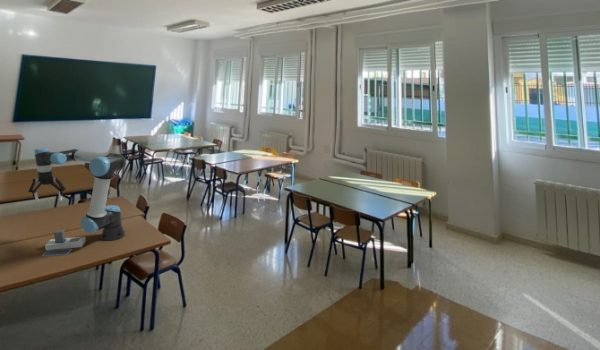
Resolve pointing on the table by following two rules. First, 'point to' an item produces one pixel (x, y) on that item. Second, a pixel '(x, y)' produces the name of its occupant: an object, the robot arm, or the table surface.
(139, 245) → the table surface
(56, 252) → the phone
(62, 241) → the block
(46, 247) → the power strip
